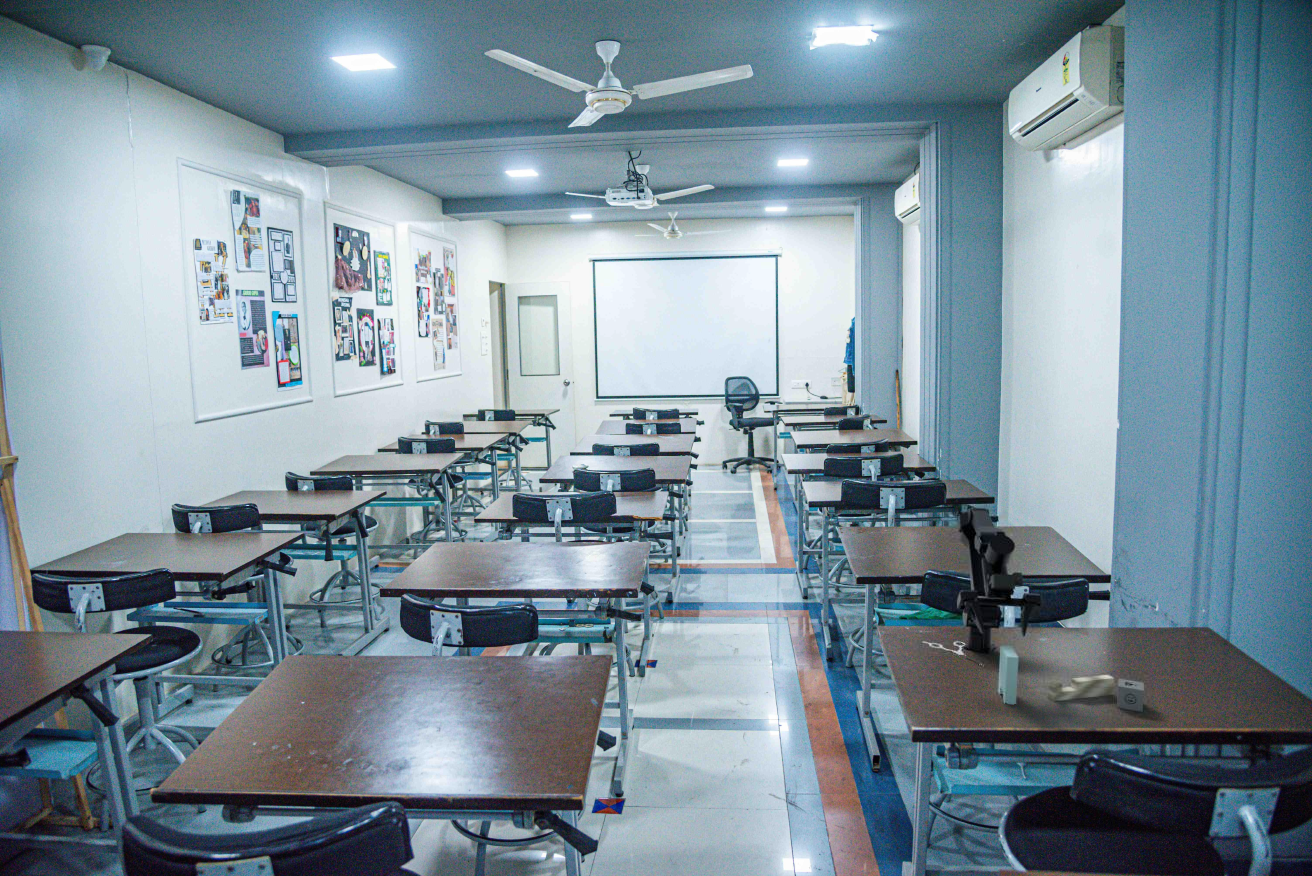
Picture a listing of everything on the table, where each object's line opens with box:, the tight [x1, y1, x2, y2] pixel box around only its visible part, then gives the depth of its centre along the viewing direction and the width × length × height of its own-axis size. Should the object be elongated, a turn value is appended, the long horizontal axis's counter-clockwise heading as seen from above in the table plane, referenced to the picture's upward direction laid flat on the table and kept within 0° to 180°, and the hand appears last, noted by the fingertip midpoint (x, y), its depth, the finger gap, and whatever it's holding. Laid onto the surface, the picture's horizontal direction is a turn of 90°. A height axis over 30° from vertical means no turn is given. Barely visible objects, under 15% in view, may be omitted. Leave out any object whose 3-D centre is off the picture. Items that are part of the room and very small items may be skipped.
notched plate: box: [997, 645, 1019, 705], centre depth 197 cm, size 7×2×11 cm, turn 170°
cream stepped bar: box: [1047, 674, 1115, 702], centre depth 199 cm, size 16×2×4 cm, turn 104°
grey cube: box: [1116, 678, 1145, 713], centre depth 194 cm, size 5×5×5 cm
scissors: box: [922, 640, 983, 666], centre depth 225 cm, size 11×1×20 cm
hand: (1003, 634), depth 203 cm, fingers open, 9 cm apart
